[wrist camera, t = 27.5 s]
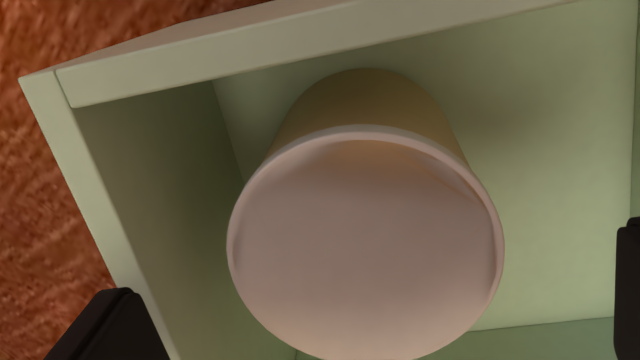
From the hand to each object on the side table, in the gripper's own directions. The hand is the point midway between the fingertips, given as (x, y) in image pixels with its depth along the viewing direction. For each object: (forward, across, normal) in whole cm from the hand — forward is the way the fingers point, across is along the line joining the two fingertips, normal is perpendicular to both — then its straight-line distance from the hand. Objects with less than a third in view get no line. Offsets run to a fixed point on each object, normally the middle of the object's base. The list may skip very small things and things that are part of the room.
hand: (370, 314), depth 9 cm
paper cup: (+9, 0, 0) cm, 9 cm away
